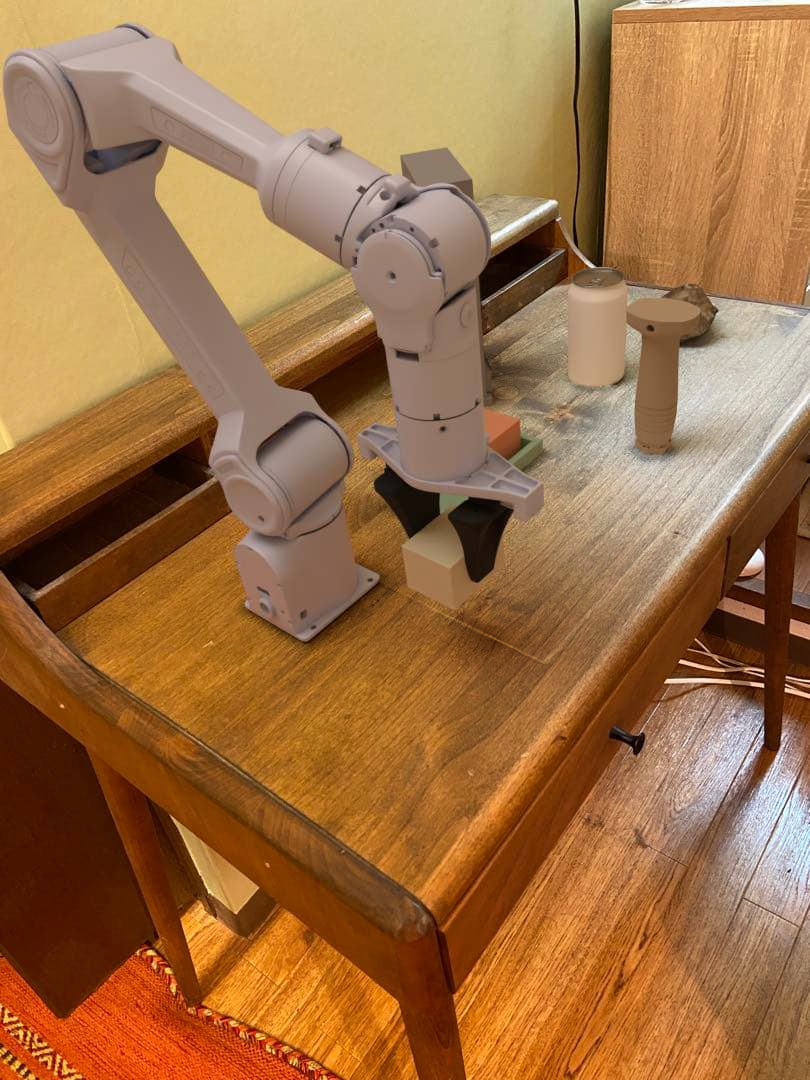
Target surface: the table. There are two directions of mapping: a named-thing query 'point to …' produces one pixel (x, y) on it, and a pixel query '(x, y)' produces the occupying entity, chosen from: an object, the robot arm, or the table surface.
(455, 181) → the tall grey pillar
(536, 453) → the tray
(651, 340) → the handle
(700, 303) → the fossilized seashell
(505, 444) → the orange red block
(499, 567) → the beige block
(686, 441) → the table surface
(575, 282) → the can
